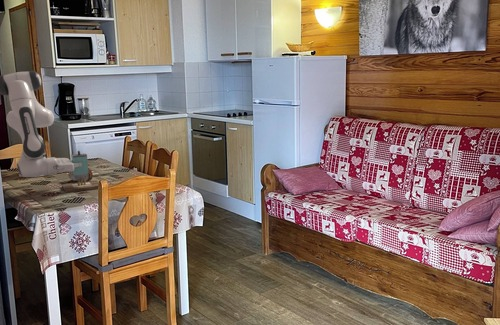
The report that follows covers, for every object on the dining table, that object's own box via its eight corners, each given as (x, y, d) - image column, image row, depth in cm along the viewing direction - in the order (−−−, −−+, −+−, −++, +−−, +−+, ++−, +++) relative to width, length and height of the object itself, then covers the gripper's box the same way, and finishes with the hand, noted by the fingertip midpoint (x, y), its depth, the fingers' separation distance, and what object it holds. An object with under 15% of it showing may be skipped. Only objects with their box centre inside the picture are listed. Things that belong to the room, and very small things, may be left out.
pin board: (62, 187, 267) (61, 178, 266) (96, 182, 275) (96, 174, 274) (66, 192, 255) (65, 183, 254) (102, 188, 263) (101, 178, 262)
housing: (72, 173, 264) (70, 150, 262) (86, 172, 267) (84, 149, 265) (74, 175, 260) (72, 152, 258) (88, 173, 263) (86, 151, 261)
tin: (93, 181, 279) (92, 166, 277) (89, 183, 276) (88, 168, 274) (71, 179, 284) (70, 165, 283) (68, 181, 281) (66, 166, 280)
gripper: (54, 163, 247) (83, 160, 253) (49, 157, 265) (76, 154, 271) (55, 175, 248) (84, 172, 254) (50, 168, 266) (77, 165, 272)
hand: (80, 163), depth 263 cm, fingers closed on housing, 5 cm apart
